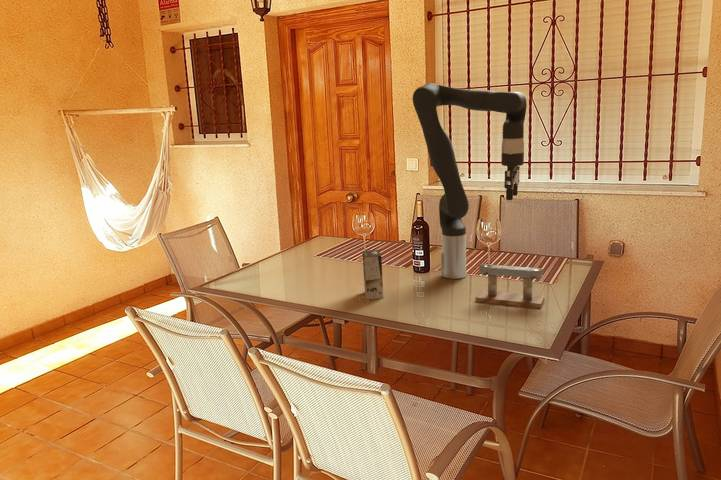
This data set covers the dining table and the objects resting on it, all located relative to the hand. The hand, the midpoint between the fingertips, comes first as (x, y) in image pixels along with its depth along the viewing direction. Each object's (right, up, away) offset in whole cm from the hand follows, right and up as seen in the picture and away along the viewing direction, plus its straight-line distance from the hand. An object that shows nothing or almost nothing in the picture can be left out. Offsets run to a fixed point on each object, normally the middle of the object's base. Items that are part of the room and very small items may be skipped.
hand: (511, 197), depth 206 cm
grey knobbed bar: (-2, -27, -5) cm, 27 cm away
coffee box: (-48, -35, +10) cm, 61 cm away
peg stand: (-1, -36, -3) cm, 36 cm away
